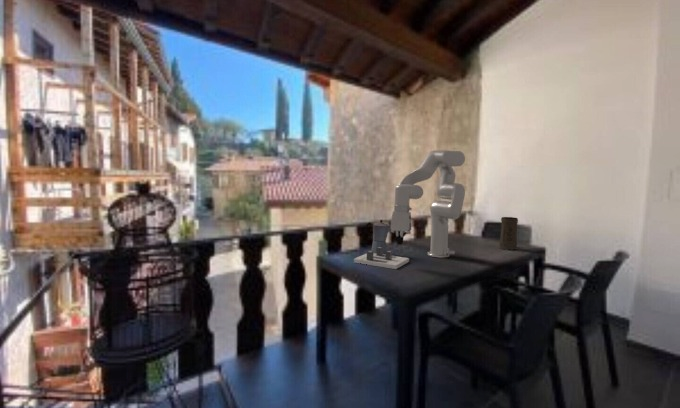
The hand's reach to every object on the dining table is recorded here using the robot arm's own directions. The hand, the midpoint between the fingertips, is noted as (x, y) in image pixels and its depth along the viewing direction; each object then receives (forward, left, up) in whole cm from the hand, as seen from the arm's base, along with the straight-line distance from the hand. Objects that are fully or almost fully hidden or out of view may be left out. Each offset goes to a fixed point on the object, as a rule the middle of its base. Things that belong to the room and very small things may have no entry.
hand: (399, 244), depth 217 cm
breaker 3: (+6, -1, -9) cm, 11 cm away
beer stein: (-41, -80, -11) cm, 90 cm away
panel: (+10, -1, -11) cm, 15 cm away
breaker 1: (+14, +5, -9) cm, 18 cm away
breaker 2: (+14, -7, -9) cm, 18 cm away
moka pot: (+20, -18, -11) cm, 29 cm away
